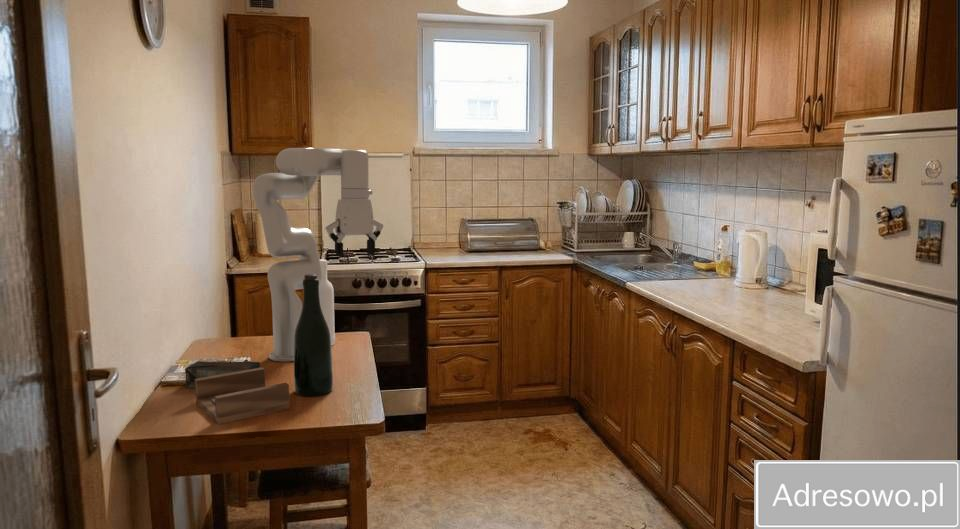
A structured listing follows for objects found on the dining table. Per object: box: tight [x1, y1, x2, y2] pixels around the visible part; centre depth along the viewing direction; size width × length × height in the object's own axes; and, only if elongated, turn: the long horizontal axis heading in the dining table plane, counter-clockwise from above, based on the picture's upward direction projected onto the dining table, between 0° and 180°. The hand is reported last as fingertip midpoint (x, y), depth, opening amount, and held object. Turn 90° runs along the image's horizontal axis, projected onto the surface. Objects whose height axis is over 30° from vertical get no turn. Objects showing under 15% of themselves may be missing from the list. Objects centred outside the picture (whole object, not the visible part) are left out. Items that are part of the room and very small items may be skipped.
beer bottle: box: [293, 274, 334, 397], centre depth 189 cm, size 10×10×33 cm
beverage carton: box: [184, 360, 261, 389], centre depth 197 cm, size 8×19×7 cm, turn 87°
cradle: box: [194, 366, 290, 425], centre depth 179 cm, size 19×18×6 cm
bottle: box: [319, 258, 336, 347], centre depth 239 cm, size 8×8×30 cm
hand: (355, 255), depth 194 cm, fingers open, 9 cm apart
